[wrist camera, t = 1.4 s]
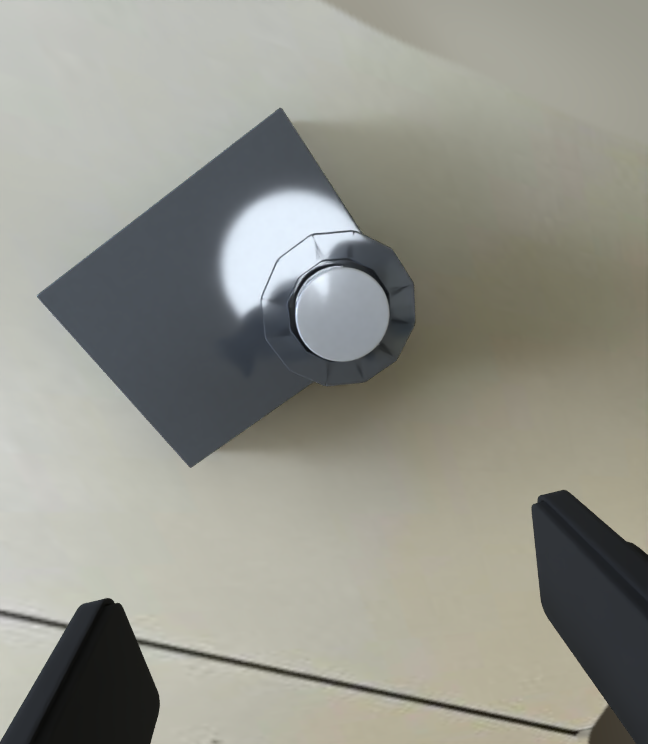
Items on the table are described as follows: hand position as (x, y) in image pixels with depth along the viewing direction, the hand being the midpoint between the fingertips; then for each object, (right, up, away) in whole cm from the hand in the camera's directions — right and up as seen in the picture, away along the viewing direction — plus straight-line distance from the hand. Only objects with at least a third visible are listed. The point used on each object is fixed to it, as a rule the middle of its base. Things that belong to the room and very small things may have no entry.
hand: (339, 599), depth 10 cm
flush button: (0, +8, +11) cm, 13 cm away
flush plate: (-5, +9, +14) cm, 17 cm away
